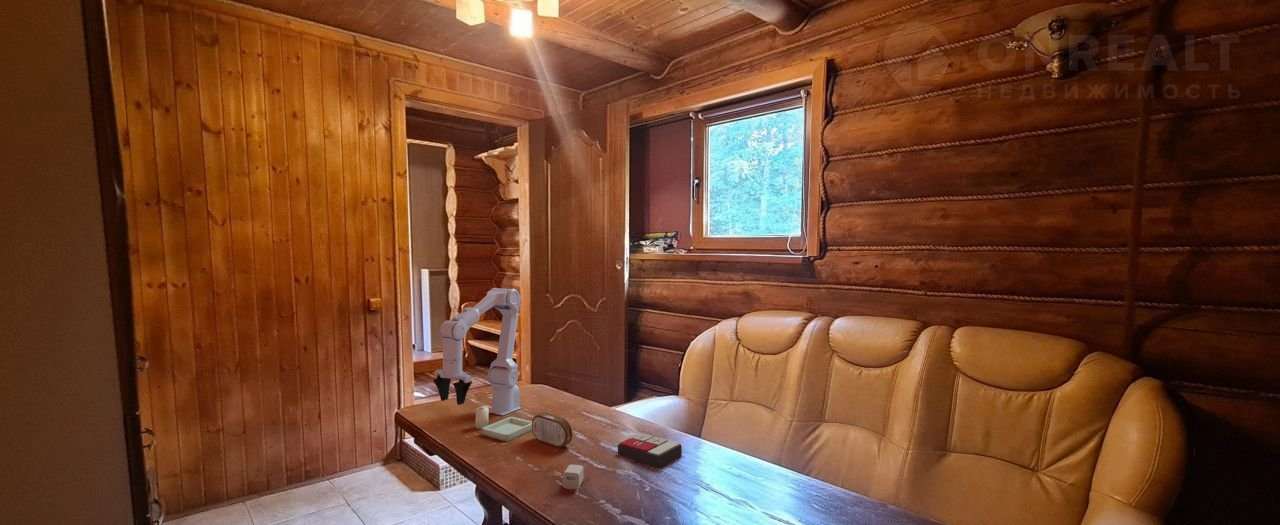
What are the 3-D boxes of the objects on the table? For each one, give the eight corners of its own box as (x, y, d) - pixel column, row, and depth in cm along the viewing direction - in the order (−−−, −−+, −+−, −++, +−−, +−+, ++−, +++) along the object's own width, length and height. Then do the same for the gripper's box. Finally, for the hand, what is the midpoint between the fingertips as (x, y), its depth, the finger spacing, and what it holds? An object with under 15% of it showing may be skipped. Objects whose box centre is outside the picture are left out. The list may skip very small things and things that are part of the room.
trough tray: (511, 422, 162) (511, 416, 162) (536, 428, 157) (536, 422, 157) (480, 434, 151) (480, 428, 151) (506, 441, 145) (506, 435, 145)
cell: (482, 423, 160) (482, 404, 160) (491, 426, 158) (491, 406, 158) (472, 427, 157) (473, 407, 157) (481, 429, 155) (481, 409, 155)
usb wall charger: (562, 488, 117) (563, 471, 117) (570, 475, 124) (571, 459, 124) (578, 489, 117) (579, 473, 117) (585, 476, 124) (586, 461, 124)
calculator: (641, 431, 147) (682, 441, 137) (641, 445, 146) (682, 457, 137) (616, 442, 138) (658, 453, 129) (617, 457, 138) (659, 470, 128)
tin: (573, 448, 142) (573, 419, 142) (565, 451, 139) (565, 422, 139) (537, 436, 150) (537, 409, 150) (529, 439, 148) (530, 411, 148)
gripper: (426, 358, 152) (426, 401, 152) (457, 364, 145) (457, 409, 145) (445, 354, 158) (445, 395, 158) (476, 359, 151) (476, 403, 151)
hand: (452, 401), depth 152 cm, fingers open, 7 cm apart
